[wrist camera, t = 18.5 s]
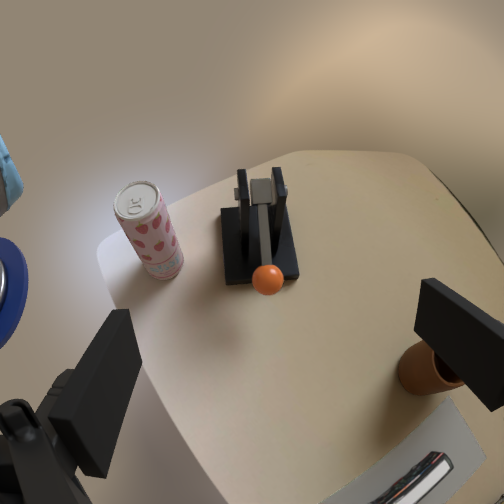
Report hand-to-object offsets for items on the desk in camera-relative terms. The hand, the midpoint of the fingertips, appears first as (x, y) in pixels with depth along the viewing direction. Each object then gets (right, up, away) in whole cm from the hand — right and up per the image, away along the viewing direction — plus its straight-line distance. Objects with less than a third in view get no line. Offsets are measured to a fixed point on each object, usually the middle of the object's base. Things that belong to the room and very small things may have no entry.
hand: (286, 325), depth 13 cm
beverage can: (-14, +1, +32) cm, 35 cm away
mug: (+24, -14, +25) cm, 37 cm away
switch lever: (0, +5, +25) cm, 26 cm away
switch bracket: (-1, +4, +34) cm, 34 cm away
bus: (+20, -29, +17) cm, 39 cm away
